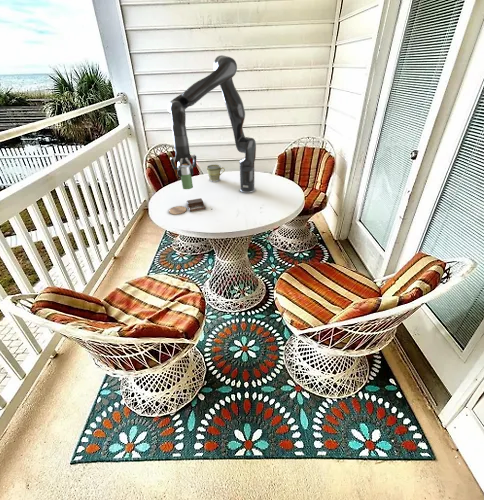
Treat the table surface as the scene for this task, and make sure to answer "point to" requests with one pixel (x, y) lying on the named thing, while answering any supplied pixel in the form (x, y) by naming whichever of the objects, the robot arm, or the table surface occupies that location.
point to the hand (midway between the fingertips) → (186, 175)
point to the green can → (186, 177)
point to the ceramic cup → (214, 172)
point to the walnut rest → (195, 204)
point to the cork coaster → (177, 210)
